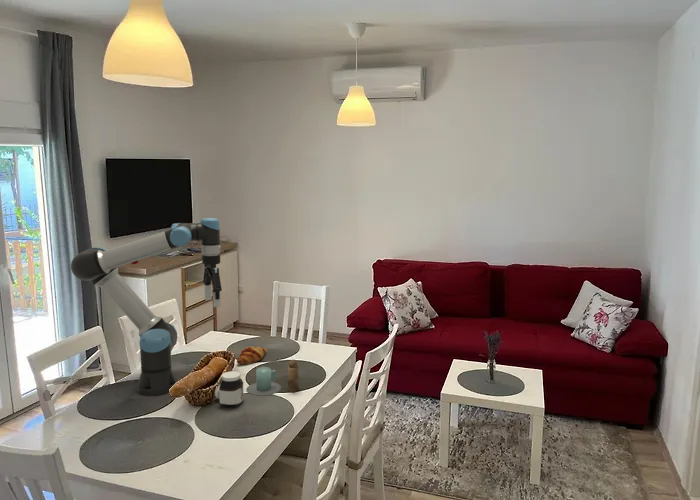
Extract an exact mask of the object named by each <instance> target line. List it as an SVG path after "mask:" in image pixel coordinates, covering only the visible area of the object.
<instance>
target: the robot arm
mask: <svg viewBox="0 0 700 500" xmlns="http://www.w3.org/2000/svg"><path fill="white" fill-rule="evenodd" d="M170 226H171V227H170V229H167V230H165V231H162V232H159V233H156V234H153V235H150V236H149V235H148V236H146V237H144V238H140V239H138V240H134V241H132V242H129V243H126V244H121V245H119V246H115V247H113V248H109V249H105V248H102V247H90V248H87V249H85V250H84V251H82V252H79V253H78V254H76V255H75V256H74V257H73V258H72V260H71V263H70V271H71V272H72V274H73V275H74V277H76V278H77V279H78V280H80V281H89V282H91V284H92V285H93V286H94V287H100V288H101V289H102V290H103V291H104V293H106V294H107V296H108V297H109V298H110V299H111V300H112V302H113V303H115V305H116V306H117V307H118V308H119V309H120V310H121V311H122V312H123V314H125V316H126V318H128V319H129V321H131V323H132V324H133V325H134V326H135V327H136V328H137V329H138V336H139V350H140V354H139V355H140V366H141V368H140V371H141V373H140V375H139V380H138V382H137V393H139V394H140V395H142V396H153V397H154V396H160V395H166V394H169V393H170V392H169V389H170V388H171V387H172V386H173V385H174V384H175V383H176V382H177V383H178V381H177V378H176V376H175V373H174V371H173V368H172V350H173V349H174V347H175V345H176V344H177V341H178V332H177V329H176V327H175V326H174V325H173V324H171V323H170V322H166V321H165V319H164V318H163V317H161V316H156V315H155V314H154V312H152V310H151V309H150V308H149V307H148V306H147V305H146V303H144V301H143V300H142V299H141V298H140V296H138V294H137V293H136V292H135V291H134V289H133V288H132V287H130V285H129V283H127V281H125V279H123V277H122V276H121V275H120V274H119V268H120V267H122V266H124V265H128V264H132V263H134V262H137V261H139V260H140V261H141V260H143V259H146V258H149V257H153V256H155V255H158V254H161V253H164V252H167V251H170V250H173V249H177V248H179V247H180V248H181V247H186V246H187V245H188V244H189V243H190V242H201V255H202V256H201V262H202V264H203V265H204V266H203V267H204V272H203V279H202V283H203V284H204V301H212V300H213V301H212V302H213V303H212V304H213V308H219V307H221V291H222V282H221V276H220V268H219V267H217V265H219V264H221V255H220V254H221V249H222V246H221V242H220V241H221V236H220V235H221V233H220V231H221V230H220V229H221V228H220V220H219V219H218V218H215V217H206V218H205V217H204V218H201V219H200V222H198V223H197V222H196V223H194V222H193V223H190V222H189V223H187V222H178V223H172V225H170ZM212 288H213V290H212ZM212 297H213V298H212Z"/></svg>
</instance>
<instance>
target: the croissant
mask: <svg viewBox="0 0 700 500" xmlns="http://www.w3.org/2000/svg"><path fill="white" fill-rule="evenodd" d="M266 354H267V347H266V348H265V347H262V346H261V347H259V346H255V345H254V346H247V347H244V349H242V350H241V352H240V354H239V357H237V359H236V363H237V364H239V365H250V364H254V363H257V362H259V361H261V360H262V359H263V358H264V356H265V355H266Z"/></svg>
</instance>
